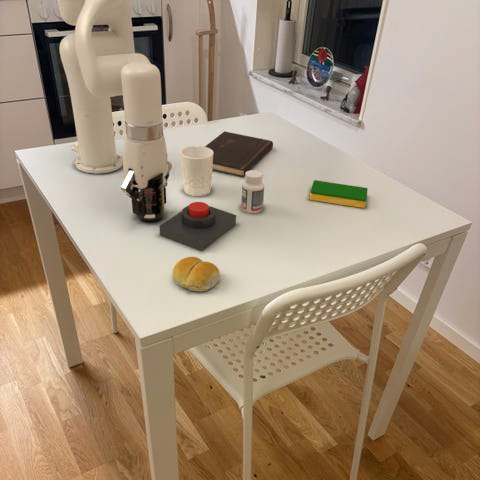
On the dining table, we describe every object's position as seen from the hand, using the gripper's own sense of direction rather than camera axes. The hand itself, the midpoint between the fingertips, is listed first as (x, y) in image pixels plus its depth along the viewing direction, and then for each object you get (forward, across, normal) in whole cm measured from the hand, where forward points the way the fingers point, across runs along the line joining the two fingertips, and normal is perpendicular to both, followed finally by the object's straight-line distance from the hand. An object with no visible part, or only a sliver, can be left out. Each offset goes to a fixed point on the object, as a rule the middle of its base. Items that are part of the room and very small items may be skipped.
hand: (149, 207), depth 117 cm
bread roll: (+3, +14, +23) cm, 27 cm away
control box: (+2, -2, +12) cm, 13 cm away
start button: (-2, -2, +12) cm, 13 cm away
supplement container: (+2, 0, 0) cm, 2 cm away
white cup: (+2, -18, +1) cm, 18 cm away
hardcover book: (+2, -42, -3) cm, 42 cm away
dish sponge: (+3, -36, +32) cm, 48 cm away
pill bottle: (+3, -18, +17) cm, 25 cm away
